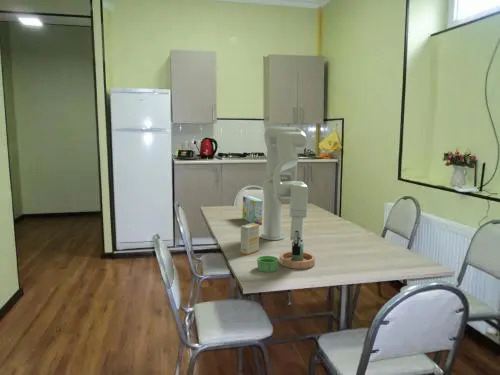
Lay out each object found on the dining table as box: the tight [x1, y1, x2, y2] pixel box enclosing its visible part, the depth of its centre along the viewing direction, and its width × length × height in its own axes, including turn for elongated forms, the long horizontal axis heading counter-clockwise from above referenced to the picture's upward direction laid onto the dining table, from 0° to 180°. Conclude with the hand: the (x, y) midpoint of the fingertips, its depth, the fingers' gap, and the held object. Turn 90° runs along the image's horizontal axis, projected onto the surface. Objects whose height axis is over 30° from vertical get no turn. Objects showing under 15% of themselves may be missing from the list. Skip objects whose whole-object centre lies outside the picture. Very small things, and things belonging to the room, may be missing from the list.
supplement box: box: [240, 222, 260, 256], centre depth 190 cm, size 8×5×13 cm, turn 141°
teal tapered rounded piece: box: [291, 241, 305, 261], centre depth 175 cm, size 5×5×8 cm
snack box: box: [242, 195, 264, 226], centre depth 255 cm, size 21×6×15 cm, turn 22°
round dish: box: [278, 250, 316, 270], centre depth 175 cm, size 15×15×3 cm
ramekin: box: [256, 255, 279, 273], centre depth 168 cm, size 9×9×4 cm
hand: (297, 251), depth 175 cm, fingers open, 9 cm apart
